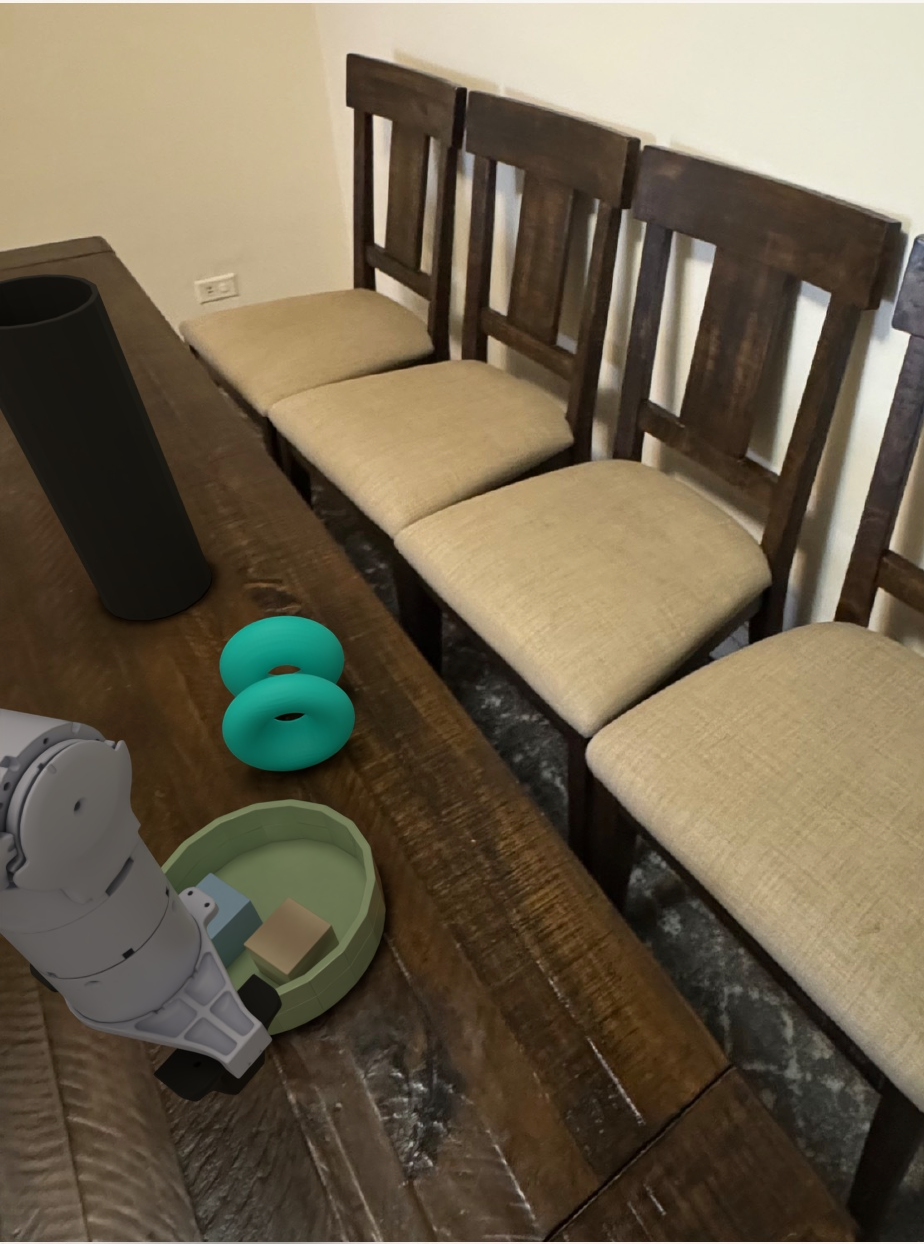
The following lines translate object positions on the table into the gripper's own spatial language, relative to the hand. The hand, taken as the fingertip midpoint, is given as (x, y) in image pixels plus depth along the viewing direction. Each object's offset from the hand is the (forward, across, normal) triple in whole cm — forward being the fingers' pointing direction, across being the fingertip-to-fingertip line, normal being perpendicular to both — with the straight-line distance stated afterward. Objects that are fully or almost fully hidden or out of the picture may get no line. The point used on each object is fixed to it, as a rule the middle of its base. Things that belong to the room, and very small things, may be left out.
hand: (196, 1035), depth 46 cm
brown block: (+10, +4, -8) cm, 13 cm away
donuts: (+11, +19, -23) cm, 32 cm away
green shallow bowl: (+10, +7, -9) cm, 15 cm away
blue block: (+10, +10, -6) cm, 15 cm away
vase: (+11, +45, -29) cm, 55 cm away
